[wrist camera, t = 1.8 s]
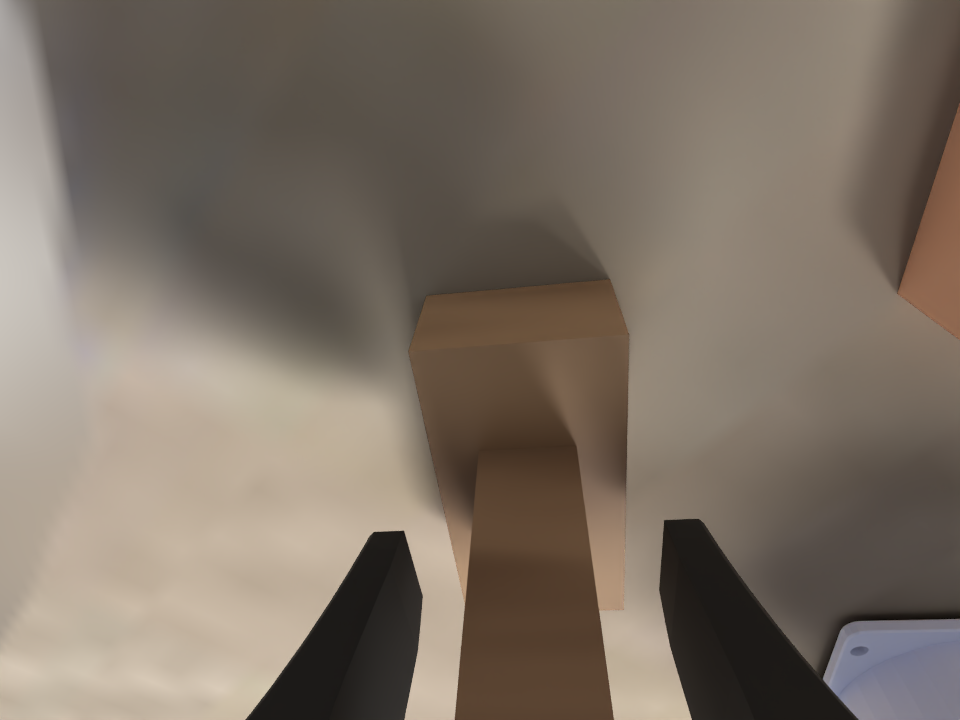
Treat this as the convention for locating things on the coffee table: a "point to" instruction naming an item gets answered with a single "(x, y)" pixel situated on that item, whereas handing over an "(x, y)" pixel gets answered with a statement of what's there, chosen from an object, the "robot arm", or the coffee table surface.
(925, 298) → the tile
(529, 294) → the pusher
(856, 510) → the coffee table surface
